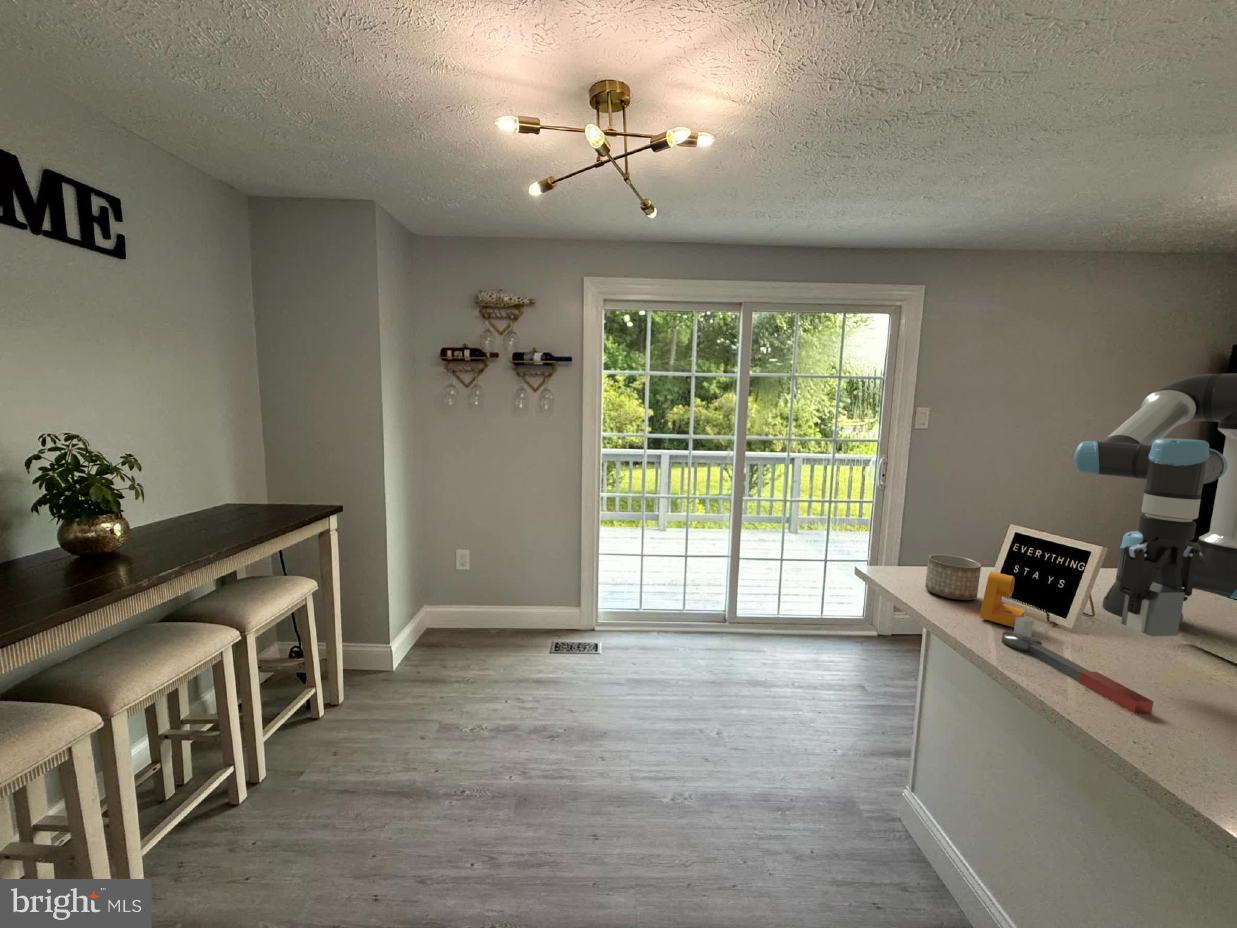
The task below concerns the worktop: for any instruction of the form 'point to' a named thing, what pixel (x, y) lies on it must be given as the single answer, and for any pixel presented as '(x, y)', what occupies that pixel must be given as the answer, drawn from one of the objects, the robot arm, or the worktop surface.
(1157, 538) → the robot arm
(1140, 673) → the worktop surface
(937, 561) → the planter
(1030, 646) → the ratchet
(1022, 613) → the bracket
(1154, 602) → the gray rectangular block
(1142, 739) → the worktop surface
